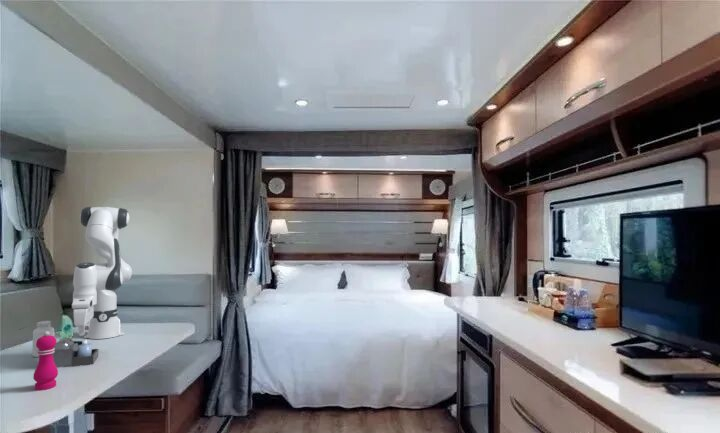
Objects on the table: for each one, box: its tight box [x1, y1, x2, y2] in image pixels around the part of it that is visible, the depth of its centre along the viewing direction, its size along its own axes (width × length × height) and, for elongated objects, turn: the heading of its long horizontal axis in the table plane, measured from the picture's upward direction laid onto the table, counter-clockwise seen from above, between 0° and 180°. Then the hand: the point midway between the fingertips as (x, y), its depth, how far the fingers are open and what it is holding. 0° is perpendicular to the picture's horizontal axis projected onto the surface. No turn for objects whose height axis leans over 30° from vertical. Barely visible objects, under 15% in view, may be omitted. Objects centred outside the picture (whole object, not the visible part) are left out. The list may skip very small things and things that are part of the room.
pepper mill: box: [32, 331, 59, 391], centre depth 158 cm, size 7×7×20 cm
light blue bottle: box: [78, 339, 93, 357], centre depth 189 cm, size 5×5×9 cm
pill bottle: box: [31, 320, 55, 358], centre depth 199 cm, size 8×8×15 cm
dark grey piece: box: [53, 337, 99, 368], centre depth 187 cm, size 13×16×10 cm
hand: (84, 332), depth 189 cm, fingers open, 8 cm apart
